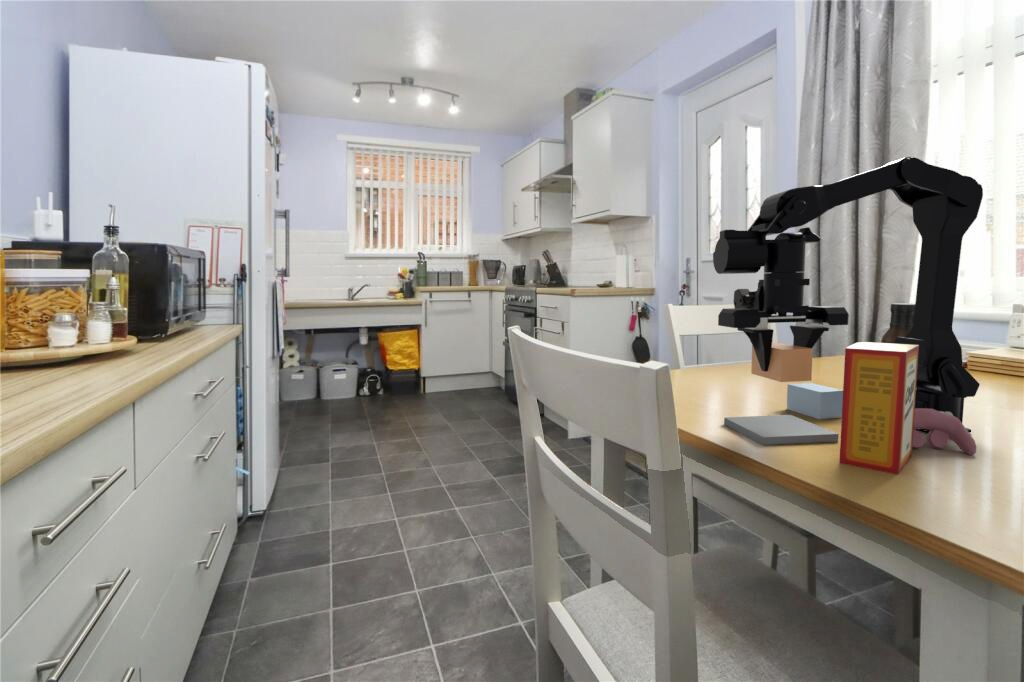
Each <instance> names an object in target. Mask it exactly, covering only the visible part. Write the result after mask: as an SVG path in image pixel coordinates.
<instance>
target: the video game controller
mask: <svg viewBox="0 0 1024 682" xmlns="http://www.w3.org/2000/svg"><path fill="white" fill-rule="evenodd" d="M966 428H967V427H965V425H964V424H963V422H962V423H961V421H960V420H959V419H958V418H957V417H955V416H953V414H952V413H951V412H943V411H937V410H934V409H928V408H916V409H915V412H914V428H913V443H912V449H917V448H921V447H923V446H924V444H925V438H924V436H923V435H922V433H920V432H919V431H918V430H920V429H928V430H930V432H927V435H926V442H927V445H928V446H929V447H930V448H932V449H939V450H940V449H943V448H945V447H946V446H947V445H948V442H949V440H950V441H952V442H953V443H954V444H955V445H956V446H957V447H958V448H959V449H960V450H961V451H962V452H963V453H965V454H967V455H969V456H972V455H973V456H974V455H975V454H976V452H977V444H976V441H975V439H974V438H973V437H972V435H971V434H970V433H969V432H968V431H967V430H966Z"/></svg>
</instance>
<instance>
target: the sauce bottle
mask: <svg viewBox="0 0 1024 682" xmlns="http://www.w3.org/2000/svg"><path fill="white" fill-rule="evenodd" d="M914 312H915V302H914V303H913V302H912V303H910V302H909V303H907V302H906V303H904V302H903V303H902V302H901V303H900V302H897V303H896V302H894V303H891V304H890V323H889V328H888V329H887V330H886V332H885V333H884V334H883V335H882V337H881V341H880V343H893V344H895V340H896V337H906V335H907V334H908V333H909V331H910V330H911V329H912V327H913V321H914Z"/></svg>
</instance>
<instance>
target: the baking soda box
mask: <svg viewBox="0 0 1024 682" xmlns="http://www.w3.org/2000/svg"><path fill="white" fill-rule="evenodd" d="M918 352H919V345H911V344H893V343H881V342H874V341H873V342H872V341H861V342H860V341H859V342H857V341H856V342H855V343H853V344H850V345H849V346H847V347H845V348H844V364H843V365H844V366H843V368H844V369H843V385H842V386H843V387H842V390H843V404H842V417H841V423H840V424H841V425H840V426H841V428H840V446H839V447H840V448H839V464H844V465H849V466H853V467H854V466H855V467H859V468H863V469H864V468H865V469H868V470H874V471H879V472H885V473H889V474H890V473H891V474H894V475H900V473H901V472H902V471H903V469H904V468H905V466H906V465H907V464H908V462H909V461H910V460H911V458H912V457H913V454H912V453H913V448H912V443H913V428H914V412H915V397H916V382H917V367H918Z"/></svg>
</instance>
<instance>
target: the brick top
mask: <svg viewBox="0 0 1024 682" xmlns="http://www.w3.org/2000/svg"><path fill="white" fill-rule="evenodd" d="M786 393H787V394H786V410H789V411H792V412H795V413H799V414H802V415H805V416H808V417H811V418H815V419H817V420H826V419H838V418H839V419H840V418H842V404H843V389H839V388H835V387H830V386H825V385H822V384H818V383H813V382H801V383H788V384H787V392H786Z"/></svg>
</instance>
